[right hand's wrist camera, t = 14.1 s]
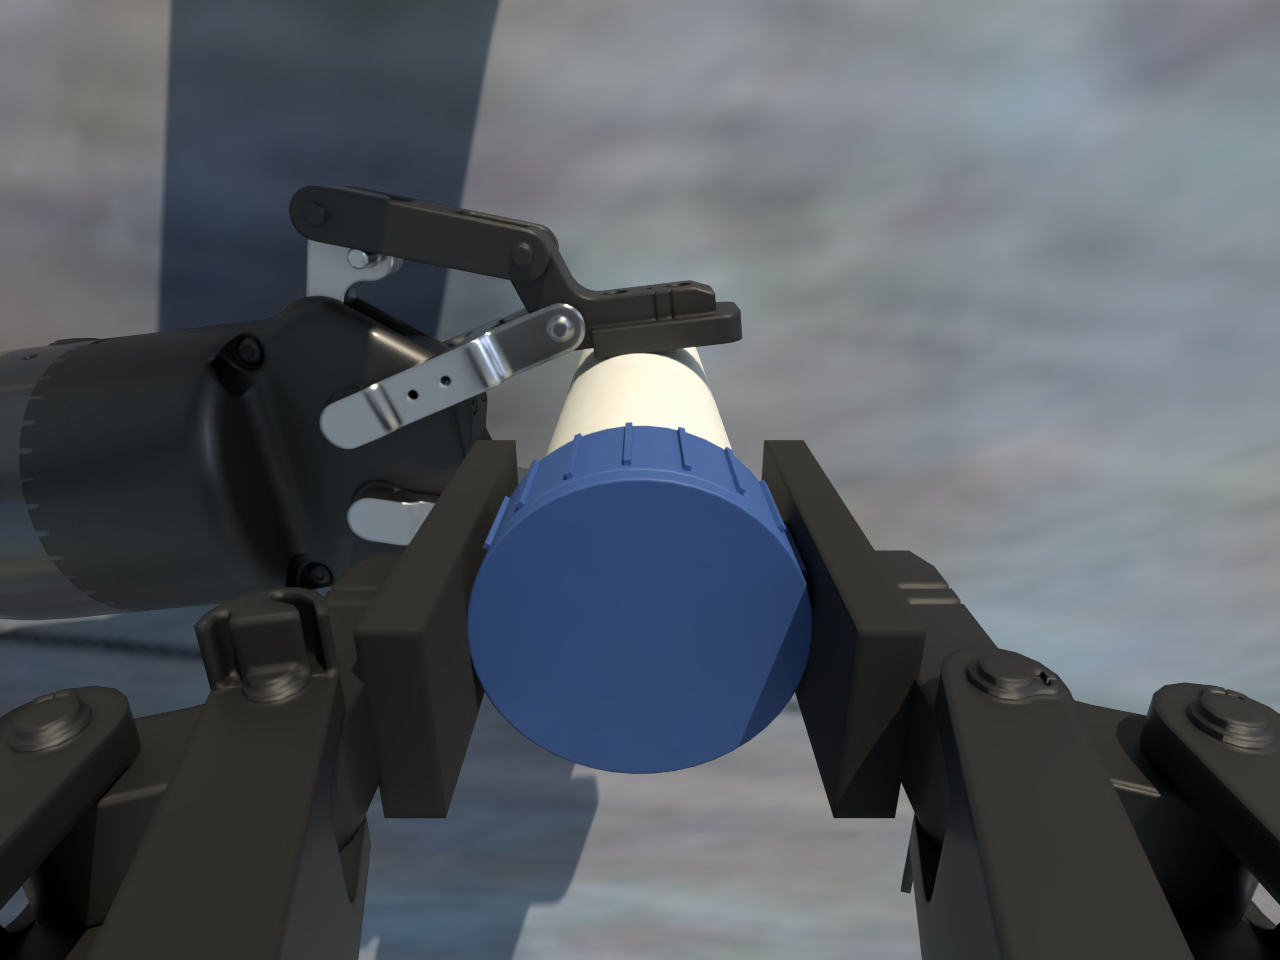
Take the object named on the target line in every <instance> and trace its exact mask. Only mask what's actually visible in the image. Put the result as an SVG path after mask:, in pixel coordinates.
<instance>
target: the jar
mask: <svg viewBox="0 0 1280 960" xmlns="http://www.w3.org/2000/svg"><path fill="white" fill-rule="evenodd" d="M628 422H632V424H633V426H656V427H665V428H670V429H675V430H678V427H682V428H685V431H686V432H687V433H690V434H692V435H695V436H698V437H701V438H703V439H706V440H708V441H709V442H711V443H713V444H715V445H717V446H719V447H721V448H723V449H725V448H726V447H728V448H730V449H731V446H730V443H729V440H728V437H727V435H726V432H725V429H724V426H723V423H722V420H721V418H720V415H719V412H718V409H717V406H716V403H715V401H714V398H713V395H712V392H711V389H710V387H709V384H708V381H707V378H706V375H705V372H704V370H703V367H702V364H701V361H700V358H699V355H698V353H697V350H696V347H690V348H682V349H673V350H665V351H656V352H647V353H639V354H627V355H621V356H613V357H604V358H596V359H595V356H594V349H593V348H591V349H583V351H582V354H581V357H580V360H579V363H578V366H577V368H576V371H575V374H574V377H573V380H572V383H571V386H570V388H569V391H568V394H567V397H566V400H565V403H564V405H563V408H562V411H561V414H560V417H559V420H558V423H557V425H556V428H555V431H554V434H553V437H552V440H551V442H550V445H549V448H548V451H547V454H546V456H547V455H549V454H550V453H551V452H553V451H554V450H556V449H558V448H560V447H561V446H563V445H565V444H566V443H568V442H570V441H573V439H574V436H575V435H577V434H579V433H581V435H582V436H584V435H587V434H590V433H594V432H597V431H601V430H604V429H609V428H616V427H623V426H625V423H628ZM731 450H732V449H731ZM733 455H734V454H733Z"/></svg>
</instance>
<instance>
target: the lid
mask: <svg viewBox="0 0 1280 960" xmlns="http://www.w3.org/2000/svg"><path fill="white" fill-rule="evenodd" d="M482 548H484V549H486V550H487V551H486V554H485V556H484V559H483V561H482V563H481V566H480V568H479V570H478V573H477V575H476V578H475V581H474V584H473V587H472V590H471V593H470V598H469V604H468V609H467V630H468V640H469V649H470V656H471V660H472V663H473V667H474V670H475V672H476V675H477V677H478V679H479V681H480V683H481V686H482V688H483V689H484V691H485V693H486V694H487V696H488V697H489V699H490V701H491V702H492V704H493V705H494V706H495V707H496V709H497V710H498V711H499V712H500V713H501V715H502V716H503V717H504V718H505V719H506V720H507V721H508V722H509V723H510V724H511V725H512V726H513V727H514V728H515V729H516V730H518V731H519V732H520V733H521V734H522V735H524V736H525V737H527V738H528V739H529V740H531V741H532V742H533V743H535V744H536V745H538V746H540V747H542V748H543V749H545V750H547V751H549V752H551V753H552V754H554V755H557V756H559V757H561V758H564V759H566V760H568V761H571V762H573V763H577V764H580V765H583V766H587V767H590V768H594V769H599V770H605V771H610V772H618V773H630V774H647V773H661V772H669V771H676V770H681V769H685V768H689V767H694V766H697V765H700V764H703V763H706V762H709V761H712V760H714V759H717V758H719V757H721V756H723V755H725V754H727V753H729V752H732V751H733V750H735V749H737V748H738V747H740V746H742V745H743V744H745V743H746V742H748V741H750V740H751V739H752V738H753V737H755V736H756V735H757V734H759V733H760V732H761V731H762V730H764V729H765V728H766V727H767V726H768V725H769V724H770V723H771V722H772V721H773V720H774V719H775V718H776V717H777V716H778V715H779V714H780V712H781V711H782V710H783V708H784V707H785V706H786V704H787V703H788V702H789V701H790V699H791V698H792V696H793V694H794V692H795V691H796V689H797V687H798V685H799V684H800V682H801V679H802V677H803V674H804V671H805V669H806V666H807V664H808V660H809V654H810V646H811V636H812V625H813V611H812V603H811V599H810V595H809V590H808V586H807V584H806V581H805V579H804V577H807V576H808V573H807V570H806V567H805V565H804V563H803V561H802V558H801V556H800V554H799V551H798V549H797V547H796V545H795V542H794V540H793V538H792V535H791V533H790V531H789V529H788V526H787V524H786V522H785V521H783V520H782V518H781V516H780V513H779V511H778V509H777V506H776V504H775V502H774V499H773V497H772V495H771V492H770V490H769V488H768V486H767V483H766V482H765V481H764V480H762V481H760V482H759V481H758V480H757V478H756V477H755V476H754V475H753V473H752V472H751V471H750V470H749V469H748V468H747V467H745V466H744V465H743V464H742V463H741V462H740V461H739V460H738V459H737V458H735V457H734V455H733V452H732V450H731V449H730V448H728V447H726V448H725V449H723V448H721V447H719V446H717V445H715V444H713V443H711V442H709V441H708V440H706V439H703V438H701V437H698V436H695V435H692V434H690V433H687V432H686V431H685V428H682V427H678V430H675V429H670V428H665V427H656V426H633V424H632V422H628V423H625V426H623V427H616V428H609V429H604V430H601V431H597V432H594V433H590V434H587V435H584V436H582V435H581V433H579V434H577V435H575V436H574V439H573V441H570V442H568V443H566V444H565V445H563V446H561V447H560V448H558V449H556V450H554V451H553V452H551V453H550V454H549V455H547V456H546V457H545V458H544V459H542V460H541V461H540V462H539V461H538V460H537V459H536V460H534V461H533V462H532V464H531V467H530V469H529V472H528V474H527V475H526V476H525V477H524V478H523V479H522V481H521V482H520V483H519V485H518V486H517V487H516V489H515V490H514V492H513V493H512V495H511V497H510V498H509V497H507V496H505V498H504V500H503V502H502V504H501V506H500V508H499V511H498V513H497V515H496V518H495V520H494V522H493V524H492V527H491V529H490V531H489V533H488V536H487V538H486V540H485V543H484V545H483V547H482Z"/></svg>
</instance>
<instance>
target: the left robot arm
mask: <svg viewBox="0 0 1280 960" xmlns="http://www.w3.org/2000/svg"><path fill="white" fill-rule="evenodd" d="M289 213H290V218H291V221H292V223H293V225H294V227H295V228H296V230H297V231H298V232H299V233H300V234H301V235H302V236H304V237H305V238H307V239H308V244H307V285H306V297H305V298H302V299H299V300H297V301H295V302H293V303H292V304H290V305H289V306H288V307H287V308H285V309H284V310H283V311H282V312H281V313H280V314H278V315H277V316H275V317H274V318H271V319H266V320H258V321H250V322H242V323H233V324H225V325H217V326H208V327H200V328H191V329H183V330H175V331H166V332H158V333H150V334H141V335H133V336H124V337H116V338H108V339H96V338H74V339H63V340H57V341H55V343H51V344H49V346H42V347H34V348H26V349H18V350H11V351H5V352H0V619H12V620H52V619H69V618H80V617H90V616H99V615H109V614H119V613H128V612H138V611H148V610H158V609H168V608H177V607H187V606H197V605H207V604H216V603H224V602H226V601H228V600H231V599H234V598H237V597H239V596H242V595H245V594H247V593H250V592H255V591H260V590H266V589H271V588H282V587H299V588H304V589H309V590H315V589H319V588H324V587H329V586H333V585H334V583H335V582H336V581H337V580H338V578H339V577H340V576H341V574H342V573H343V572H344V571H345V569H346V568H348V567H350V566H351V565H353V564H354V563H356V562H358V561H359V560H361V559H362V558H364V557H366V556H367V555H369V554H370V553H404V551H405V550H406V548H407V546H408V545H409V543H410V542H411V540H412V539H413V537H414V536H415V534H416V533H417V531H418V529H419V528H420V526H421V525H422V523H423V522H424V520H425V519H426V517H427V516H428V514H429V512H430V511H431V509H432V508H433V506H434V505H435V503H436V502H437V500H438V499H439V497H440V496H441V494H442V492H443V491H444V489H445V488H446V486H447V485H448V483H449V482H450V480H451V479H452V477H453V475H454V474H455V472H456V471H457V469H458V468H459V466H460V465H461V463H462V462H463V460H464V458H465V457H466V455H467V454H468V452H469V451H470V449H471V448H472V446H473V445H474V443H475V441H476V440H492V439H491V437H490V435H489V433H488V431H487V429H486V413H487V394H486V391H487V390H489V389H491V388H493V387H495V386H497V385H499V384H501V383H502V382H504V381H505V380H507V379H509V378H510V377H512V376H514V375H517V374H519V373H521V372H524V371H526V370H528V369H531V368H533V367H536V366H538V365H540V364H543V363H545V362H547V361H550V360H552V359H554V358H557V357H559V356H562V355H564V354H566V353H569V352H571V351H574V350H583V349H591V348H593V349H594V356H595V359H596V358H604V357H613V356H621V355H627V354H639V353H647V352H656V351H665V350H673V349H682V348H690V347H699V346H708V345H716V344H725V343H731V342H735V341H739V340H741V339H742V327H741V312H740V309H739V308H738V307H737V305H736V304H735V303H734V302H716V301H715V292H714V291H713V290H712V288H711V287H710V286H709V285H705V284H702V283H698V282H694V281H691V280H688V281H680V282H672V283H663V284H655V285H647V286H638V287H630V288H622V289H613V290H605V291H593V290H589V289H587V288H584V287H583V286H581V285H580V284H579V283H577V282H576V280H575V279H574V278H573V277H572V275H571V273H570V271H569V269H568V267H567V266H566V264H565V262H564V260H563V258H562V256H561V254H560V252H559V246H558V241H557V239H556V236H555V235H554V234H553V232H552V231H551V230H550V229H548V228H547V227H545V226H543V225H540V224H535V223H530V222H525V221H520V220H515V219H510V218H505V217H501V216H496V215H491V214H486V213H481V212H476V211H471V210H466V209H461V208H456V207H451V206H447V205H442V204H437V203H432V202H427V201H422V200H417V199H412V198H407V197H402V196H397V195H393V194H388V193H383V192H378V191H373V190H368V189H363V188H358V187H352V186H308V187H304V188H302V189H300V190H298V191H297V192H296V193H295V194H294V195H293V197H292V199H291V202H290V206H289ZM404 259H406V260H411V261H416V262H421V263H426V264H432V265H437V266H442V267H447V268H452V269H457V270H462V271H467V272H472V273H477V274H482V275H487V276H492V277H497V278H502V279H507V280H511V282H512V284H513V286H514V288H515V289H516V291H517V293H518V295H519V297H520V299H521V300H522V302H523V304H524V306H525V308H523V309H521V310H518V311H516V312H514V313H512V314H509V315H507V316H504V317H500V318H497V319H494V320H492V321H490V322H487V323H485V324H483V325H481V326H478V327H476V328H474V329H471V330H469V331H467V332H465V333H462V334H460V335H458V336H456V337H453V338H451V339H449V340H446V341H444V342H440V341H438V340H436V339H434V338H433V337H431V336H429V335H427V334H425V333H423V332H421V331H419V330H417V329H416V328H414V327H412V326H410V325H408V324H406V323H404V322H402V321H400V320H399V319H397V318H395V317H393V316H391V315H389V314H387V313H385V312H383V311H382V310H380V309H378V308H376V307H374V306H372V305H370V304H368V303H367V302H365V301H363V300H361V299H359V298H357V297H356V294H357V290H358V288H359V286H360V285H361V284H362V283H363V282H364V281H377V280H380V279H383V278H386V277H389V276H392V275H393V274H395V273H396V272H398V271H399V269H400V268H401V266H402V264H403V260H404ZM528 472H529V469H527V468H521V467H517V473H518V485H519V483H520V482H521V481H522V479H523V478H524V477H525V476H526V475H527V474H528Z"/></svg>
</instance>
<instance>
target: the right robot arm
mask: <svg viewBox="0 0 1280 960" xmlns="http://www.w3.org/2000/svg"><path fill="white" fill-rule="evenodd" d="M762 480H764V481H765V482H766V483H767V486H768V488H769V490H770V492H771V495H772V497H773V499H774V502H775V504H776V506H777V509H778V511H779V513H780V516H781V518H782V520H783V521H785V522H786V524H787V526H788V529H789V531H790V533H791V535H792V538H793V540H794V542H795V545H796V547H797V549H798V551H799V554H800V556H801V558H802V561H803V563H804V565H805V567H806V570H807V573H808V576H807V577H804V579H805V581H806V584H807V586H808V590H809V595H810V599H811V603H812V611H813V625H812V636H811V646H810V654H809V660H808V664H807V666H806V669H805V671H804V674H803V677H802V679H801V682H800V684H799V685H798V687H797V689H796V691H795V693H796V697H797V700H798V703H799V706H800V710H801V713H802V716H803V719H804V723H805V726H806V729H807V732H808V736H809V739H810V742H811V745H812V749H813V752H814V755H815V758H816V762H817V765H818V768H819V771H820V775H821V778H822V781H823V785H824V788H825V791H826V794H827V798H828V801H829V804H830V807H831V811H832V814H833V817H834V818H895V814H896V808H897V803H898V797H899V791H900V785H901V783H902V785H903V787H904V789H905V792H906V794H907V796H908V798H909V801H910V803H911V805H912V808H913V810H914V812H915V814H914V819H913V824H912V830H911V835H910V841H909V846H908V852H907V857H906V863H905V868H904V874H903V880H902V886H901V892H906V893H911V888H912V883H914V892H915V901H916V910H917V919H918V928H919V937H920V946H921V955H922V960H1280V923H1279V924H1278V925H1275V924H1274V923H1273V922H1271V921H1270V920H1269V919H1268V918H1267V917H1266V916H1265V915H1264V914H1263V913H1262V912H1261V911H1260V909H1259V908H1258V907H1257V906H1256V905H1255V904H1254V902H1253V901H1252V900H1251V899H1252V897H1253V895H1254V892H1255V890H1256V888H1257V885H1258V883H1259V882H1260V883H1261V885H1262V886H1263V887H1264V888H1265V889H1266V890H1267V891H1268V892H1269V894H1270V895H1271V896H1272V897H1273V898H1274V899H1275V900H1276V901H1277V903H1278V904H1279V905H1280V714H1279V713H1277V712H1276V711H1274V710H1273V709H1271V708H1270V707H1268V706H1266V705H1264V704H1261V703H1259V702H1257V701H1255V700H1253V699H1250V698H1248V697H1247V696H1245V695H1244V694H1241V693H1238V692H1235V691H1232V690H1229V689H1228V690H1225V689H1224V688H1222V687H1217V686H1212V685H1202V684H1193V683H1178V684H1171V685H1165V686H1163V687H1162V688H1161V689H1159V690H1158V691H1157V692H1155V693H1154V694H1153V697H1152V700H1151V704H1150V707H1149V710H1148V713H1147V716H1145V715H1140V714H1135V713H1130V712H1125V711H1120V710H1115V709H1110V708H1105V707H1100V706H1095V705H1090V704H1086V703H1082V702H1079V701H1075V700H1074V699H1073V697H1072V695H1071V693H1070V691H1069V689H1068V688H1067V686H1066V685H1065V684H1064V683H1063V681H1062V680H1061V679H1060V677H1059V676H1058V675H1057V674H1055V673H1054V672H1052V671H1051V670H1050V669H1048V668H1047V667H1045V666H1044V665H1042V664H1041V663H1040V662H1037V661H1035V660H1033V659H1030V658H1028V657H1026V656H1023V655H1021V654H1019V653H1016V652H1012V651H1007V650H1003V649H999V648H997V647H996V645H995V644H994V643H993V641H992V640H991V639H990V638H989V636H988V635H987V634H986V632H985V631H984V630H983V629H982V627H981V626H980V625H979V623H978V622H977V621H976V620H975V618H974V617H973V616H972V614H971V613H970V612H969V611H968V609H967V608H966V607H965V605H964V604H961V603H960V599H959V598H958V596H957V595H956V594H955V593H954V591H953V590H952V589H949V587H948V586H949V585H948V584H947V582H946V581H945V580H944V578H943V577H942V576H941V575H940V573H939V572H938V571H937V569H936V568H935V567H934V566H933V565H931V564H929V563H928V562H926V561H925V560H923V559H921V558H920V557H918V556H917V555H915V554H913V553H912V552H910V551H875V550H874V549H873V547H872V546H871V544H870V543H869V541H868V539H867V538H866V536H865V535H864V533H863V532H862V530H861V529H860V527H859V526H858V524H857V522H856V521H855V519H854V518H853V516H852V515H851V513H850V512H849V510H848V509H847V507H846V505H845V504H844V502H843V501H842V499H841V498H840V496H839V495H838V493H837V492H836V490H835V488H834V487H833V485H832V484H831V482H830V481H829V479H828V478H827V476H826V475H825V473H824V471H823V470H822V468H821V467H820V465H819V464H818V462H817V461H816V459H815V458H814V456H813V455H812V453H811V451H810V450H809V448H808V447H807V445H806V444H805V442H804V441H803V440H764V452H763V467H762ZM517 486H518V473H517V458H516V443H515V440H476V441H475V443H474V445H473V446H472V448H471V449H470V451H469V452H468V454H467V455H466V457H465V458H464V460H463V462H462V463H461V465H460V466H459V468H458V469H457V471H456V472H455V474H454V475H453V477H452V479H451V480H450V482H449V483H448V485H447V486H446V488H445V489H444V491H443V492H442V494H441V496H440V497H439V499H438V500H437V502H436V503H435V505H434V506H433V508H432V509H431V511H430V512H429V514H428V516H427V517H426V519H425V520H424V522H423V523H422V525H421V526H420V528H419V529H418V531H417V533H416V534H415V536H414V537H413V539H412V540H411V542H410V543H409V545H408V546H407V548H406V550H405V551H404V553H370V554H369V555H367V556H366V557H364V558H362V559H361V560H359V561H358V562H356V563H354V564H353V565H351V566H350V567H348V568H346V569H345V571H344V572H343V573H342V574H341V576H340V577H339V578H338V580H337V581H336V582H335V583H334V585H333V586H332V587H331V588H332V589H331V591H328V593H327V594H326V595H325V596H324V597H323V596H322V595H320V594H319V593H318V592H316V591H313V590H309V589H304V588H299V587H282V588H271V589H266V590H260V591H255V592H250V593H247V594H245V595H242V596H239V597H237V598H234V599H231V600H228V601H226V602H224V603H222V604H221V605H219V606H217V607H216V608H214V609H212V610H211V611H209V612H207V613H206V614H205V615H204V616H203V617H202V618H201V619H200V620H199V621H198V623H197V624H196V625H195V626H194V628H195V632H196V635H197V639H198V643H199V647H200V650H201V654H202V658H203V662H204V666H205V669H206V673H207V677H208V681H209V684H210V688H211V692H210V694H209V696H208V698H207V700H206V703H205V704H202V705H198V706H194V707H191V708H186V709H181V710H176V711H171V712H166V713H161V714H156V715H151V716H146V717H141V718H136V719H134V718H133V715H132V712H131V709H130V705H129V702H128V699H127V697H126V696H125V695H123V694H122V693H121V692H119V691H118V690H117V689H114V688H107V687H100V686H91V687H82V688H72V689H66V690H61V691H57V692H56V693H54V694H53V693H50V694H47V695H44V696H41V697H38V698H36V699H34V700H33V701H31V702H29V703H27V704H25V705H22V706H20V707H18V708H16V709H14V710H12V711H10V712H9V713H7V714H6V715H4V716H3V717H1V718H0V910H1V909H2V908H3V906H4V905H5V904H6V903H7V902H8V901H9V900H10V899H11V897H12V896H13V895H14V894H15V893H16V892H17V891H18V889H19V888H20V887H21V886H22V887H23V889H24V891H25V894H26V896H27V898H28V901H29V904H28V905H27V906H26V907H25V909H24V910H23V911H22V912H21V913H20V914H19V916H18V917H17V918H16V919H15V920H13V921H12V922H11V923H10V924H9V925H7V926H6V927H5V928H3V927H2V926H1V925H0V960H358V957H359V948H360V939H361V930H362V921H363V912H364V903H365V894H366V885H367V876H368V867H369V858H370V849H371V843H370V836H369V830H368V825H367V819H366V813H367V810H368V808H369V806H370V803H371V801H372V799H373V797H374V794H375V792H376V790H377V787H378V785H379V788H380V793H381V799H382V805H383V811H384V817H385V818H446V816H447V812H448V809H449V806H450V803H451V799H452V796H453V793H454V790H455V786H456V783H457V780H458V777H459V773H460V770H461V767H462V764H463V760H464V757H465V754H466V751H467V747H468V744H469V741H470V738H471V734H472V731H473V728H474V725H475V721H476V718H477V715H478V712H479V708H480V705H481V702H482V699H483V695H484V692H485V691H484V689H483V688H482V686H481V683H480V681H479V679H478V677H477V675H476V672H475V670H474V667H473V663H472V660H471V656H470V649H469V640H468V630H467V609H468V604H469V598H470V593H471V590H472V587H473V584H474V581H475V578H476V575H477V573H478V570H479V568H480V566H481V563H482V561H483V559H484V556H485V554H486V551H487V550H486V549H484V548H482V547H483V545H484V543H485V540H486V538H487V536H488V533H489V531H490V529H491V527H492V524H493V522H494V520H495V518H496V515H497V513H498V511H499V508H500V506H501V504H502V502H503V500H504V498H505V496H507V497H509V498H510V497H511V495H512V493H513V492H514V490H515V489H516V487H517Z"/></svg>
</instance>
